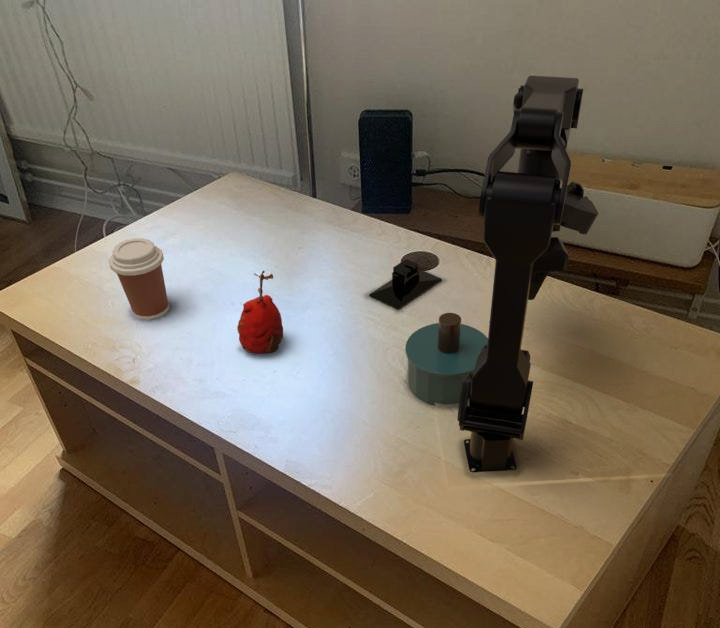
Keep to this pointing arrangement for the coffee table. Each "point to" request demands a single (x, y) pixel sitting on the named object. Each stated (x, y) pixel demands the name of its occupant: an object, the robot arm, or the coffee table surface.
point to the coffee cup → (141, 276)
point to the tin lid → (445, 347)
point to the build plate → (405, 285)
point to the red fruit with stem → (260, 323)
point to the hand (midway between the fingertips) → (523, 282)
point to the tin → (434, 386)
